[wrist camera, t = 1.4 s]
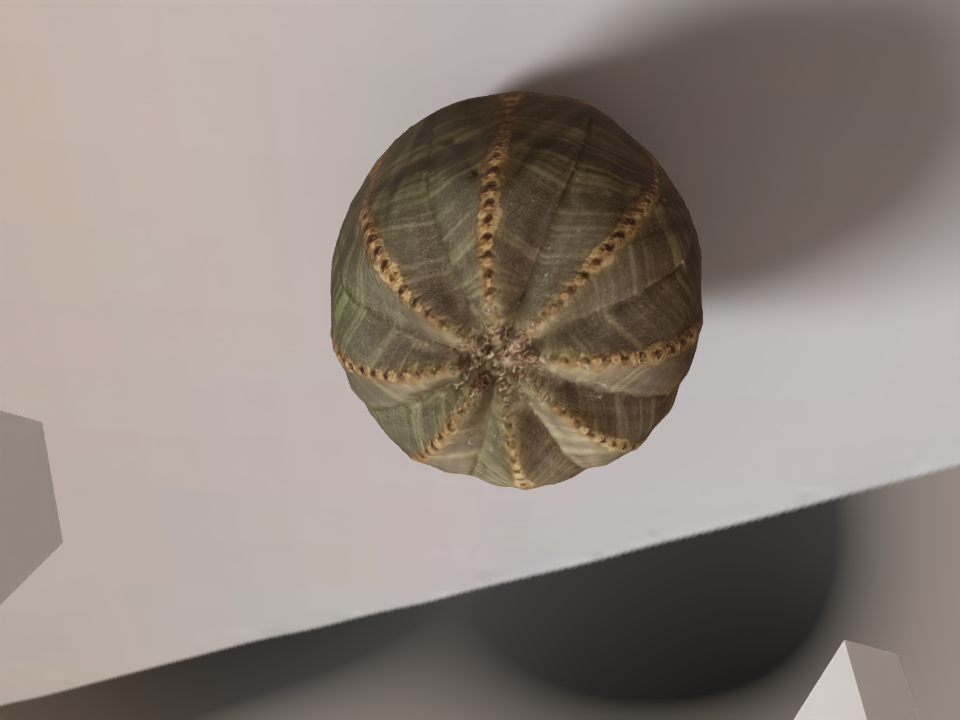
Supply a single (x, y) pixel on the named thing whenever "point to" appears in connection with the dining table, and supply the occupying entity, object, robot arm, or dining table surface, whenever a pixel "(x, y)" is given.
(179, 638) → the dining table surface
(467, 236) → the ribbed globe cactus
